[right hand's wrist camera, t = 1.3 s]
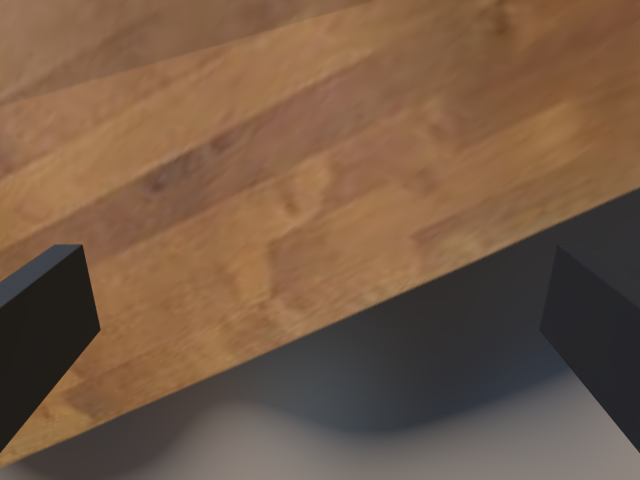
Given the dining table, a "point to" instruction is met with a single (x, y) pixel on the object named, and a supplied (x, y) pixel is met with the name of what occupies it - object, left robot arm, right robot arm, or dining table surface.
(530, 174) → the dining table surface
